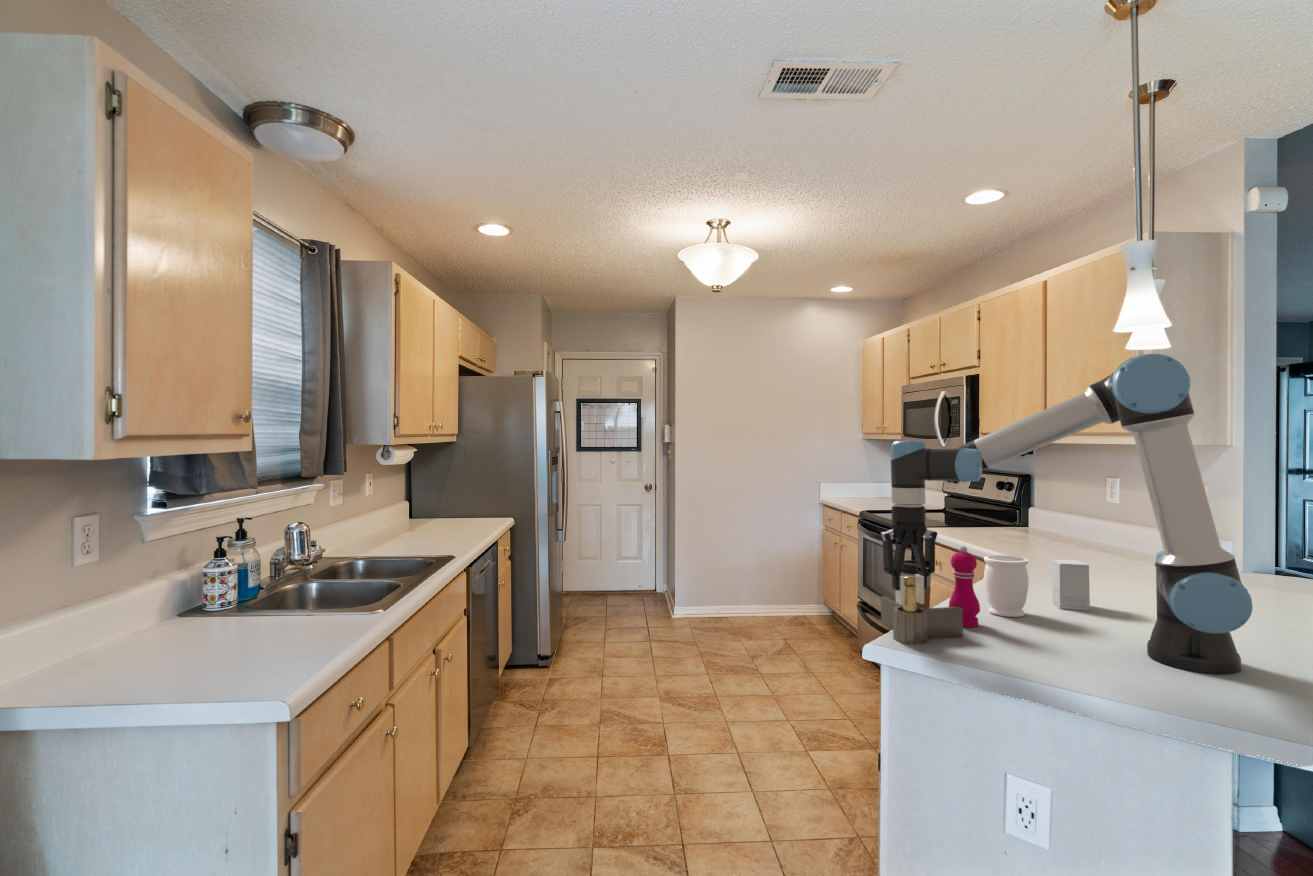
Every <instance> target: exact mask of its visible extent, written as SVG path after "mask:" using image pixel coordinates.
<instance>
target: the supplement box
mask: <svg viewBox="0 0 1313 876" xmlns="http://www.w3.org/2000/svg"><path fill="white" fill-rule="evenodd" d="M1051 562H1052V564H1051V567H1052V570H1051V571H1052V575H1051V576H1052V603H1053V604H1054V605H1055V606H1056V607H1058V608H1059V609H1061V610H1062V609H1063V610H1073V611H1074V610H1075V611H1088V612H1089V611H1090V610H1091V608H1090V605H1091V602H1090V601H1091V600H1090V597H1091V596H1090V565H1089V564H1088V563H1086V562H1084V561H1082V560H1077V559H1076V560H1075V559H1052V560H1051Z"/></svg>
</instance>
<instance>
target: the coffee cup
mask: <svg viewBox="0 0 1313 876" xmlns="http://www.w3.org/2000/svg"><path fill="white" fill-rule="evenodd" d="M915 574H919V573H918V570H917V566H916V562H915V559H907V560H905V559H904V561H903V566H902V571H901V576H914V577H915ZM931 578H932V573H930V575H929V576H928V577H927V588H926V589H924V604H920V603H918V602H916V605H917V607H920V608H923V609H924V608H931V607H930V604H931V581H932V580H931Z"/></svg>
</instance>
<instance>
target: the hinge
mask: <svg viewBox="0 0 1313 876" xmlns="http://www.w3.org/2000/svg"><path fill="white" fill-rule="evenodd" d="M880 624H882V625H883V626H885V627H886V628H888V629H890V630H892V633H893V637H892V639H893V640H895V641H896V642H899V643H901V644H907V645H908V644H909V645H924V644H926V643H928V640H931V639H932V640H933V639H949V638H950V639H951V638H963V637H964V627H963V608H962V607H949V606H947V607H945V606H944V607H943V606H942V607H929V608H924V609H923V608H920V607H917V613H906V612H903V605H900V604H898V603H896V600H893V599H891V598H890V597H889V598H888V597H886V596H884V595H883V596H880Z"/></svg>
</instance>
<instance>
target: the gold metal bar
mask: <svg viewBox="0 0 1313 876" xmlns="http://www.w3.org/2000/svg"><path fill="white" fill-rule="evenodd" d="M902 577H904V605H903V612H906V613H917V605H916V577H914V576H902Z"/></svg>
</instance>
